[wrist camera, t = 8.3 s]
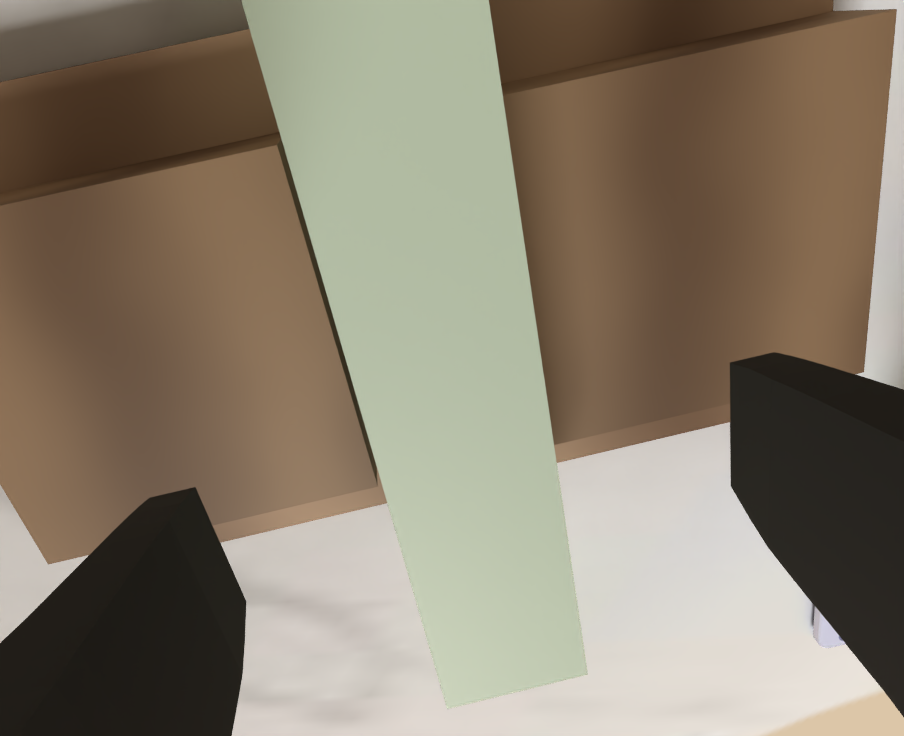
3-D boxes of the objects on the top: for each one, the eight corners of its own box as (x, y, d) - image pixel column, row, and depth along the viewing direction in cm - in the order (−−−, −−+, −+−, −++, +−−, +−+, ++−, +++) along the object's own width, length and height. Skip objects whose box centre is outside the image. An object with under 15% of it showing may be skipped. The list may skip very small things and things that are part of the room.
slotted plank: (809, -90, 15) (907, -115, 13) (791, 386, 21) (857, 439, 18) (-112, 106, 15) (-216, 125, 12) (119, 544, 20) (84, 624, 17)
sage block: (523, 500, 20) (587, 674, 15) (421, 525, 20) (447, 708, 15) (422, -67, 14) (469, -128, 8) (271, -35, 14) (219, -74, 8)
